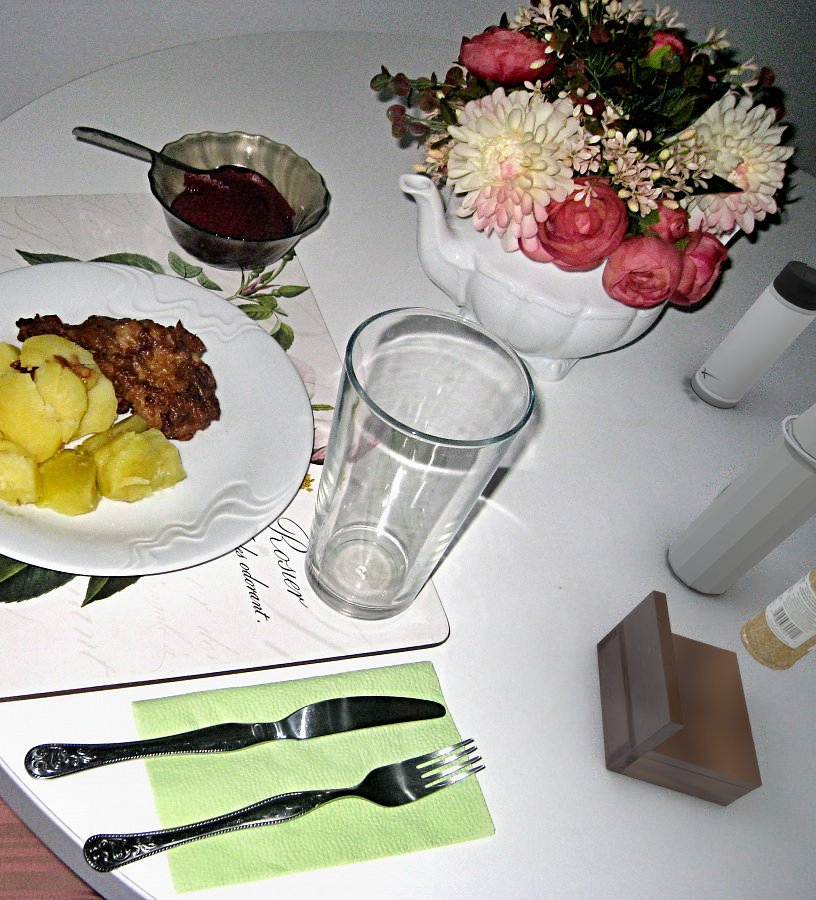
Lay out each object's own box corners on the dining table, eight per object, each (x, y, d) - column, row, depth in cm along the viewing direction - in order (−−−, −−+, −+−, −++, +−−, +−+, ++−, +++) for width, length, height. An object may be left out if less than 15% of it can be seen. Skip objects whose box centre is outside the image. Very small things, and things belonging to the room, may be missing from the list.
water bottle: (738, 607, 94) (922, 454, 76) (667, 588, 94) (834, 430, 75) (719, 538, 100) (886, 381, 82) (653, 520, 100) (804, 359, 82)
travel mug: (684, 392, 117) (786, 271, 102) (696, 367, 121) (795, 247, 106) (730, 417, 115) (840, 298, 100) (740, 391, 119) (847, 273, 104)
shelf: (704, 676, 87) (771, 625, 80) (726, 806, 79) (803, 762, 71) (596, 643, 87) (653, 589, 80) (606, 769, 79) (670, 721, 71)
